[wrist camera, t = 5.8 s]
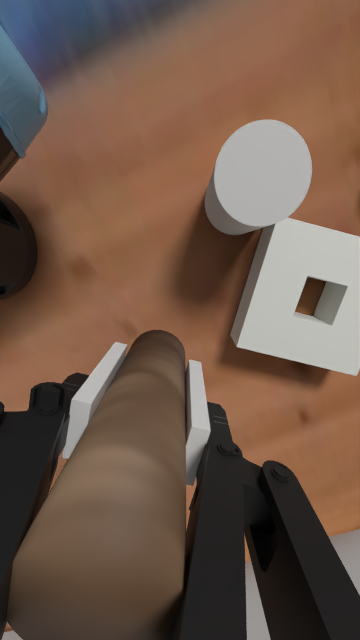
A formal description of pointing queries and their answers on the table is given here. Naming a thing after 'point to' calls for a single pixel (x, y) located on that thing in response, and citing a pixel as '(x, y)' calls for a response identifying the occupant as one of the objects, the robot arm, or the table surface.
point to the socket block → (285, 290)
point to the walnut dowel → (114, 514)
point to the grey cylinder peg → (258, 177)
